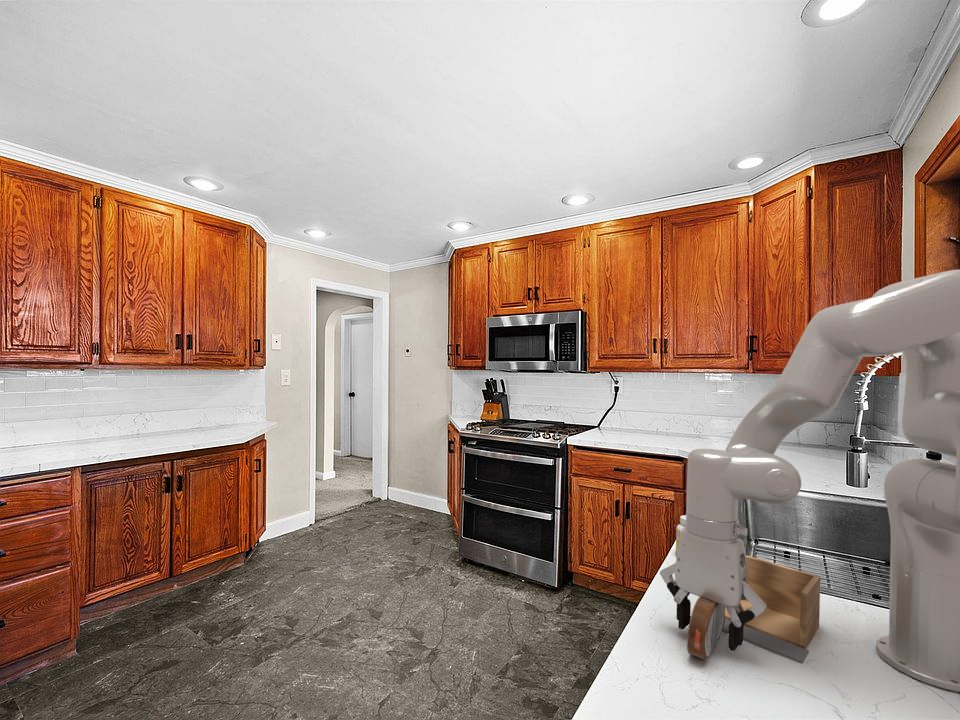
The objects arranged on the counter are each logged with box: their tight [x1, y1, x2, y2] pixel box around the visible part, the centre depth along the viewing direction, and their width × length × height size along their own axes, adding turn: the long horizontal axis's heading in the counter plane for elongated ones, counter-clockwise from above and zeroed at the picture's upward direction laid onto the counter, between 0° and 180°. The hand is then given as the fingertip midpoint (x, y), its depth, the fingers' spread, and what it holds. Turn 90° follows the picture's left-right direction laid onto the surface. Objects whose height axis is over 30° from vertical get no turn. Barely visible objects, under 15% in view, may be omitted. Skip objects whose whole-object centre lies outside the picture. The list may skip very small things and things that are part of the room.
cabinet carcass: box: [725, 555, 821, 650], centre depth 85 cm, size 16×10×10 cm, turn 44°
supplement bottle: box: [675, 514, 686, 556], centre depth 112 cm, size 5×5×10 cm
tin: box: [686, 596, 726, 661], centre depth 76 cm, size 15×3×8 cm, turn 141°
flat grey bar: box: [690, 615, 810, 664], centre depth 79 cm, size 17×4×1 cm, turn 44°
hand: (708, 635), depth 76 cm, fingers open, 7 cm apart
